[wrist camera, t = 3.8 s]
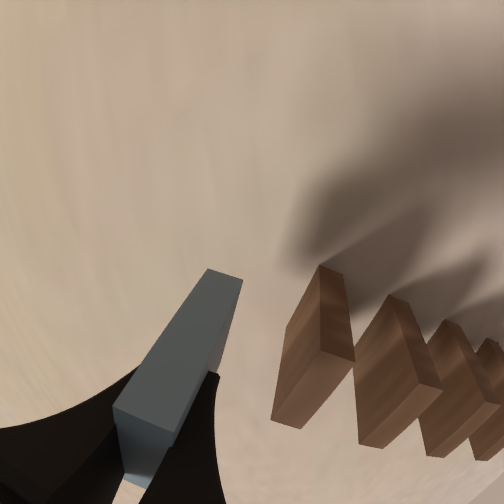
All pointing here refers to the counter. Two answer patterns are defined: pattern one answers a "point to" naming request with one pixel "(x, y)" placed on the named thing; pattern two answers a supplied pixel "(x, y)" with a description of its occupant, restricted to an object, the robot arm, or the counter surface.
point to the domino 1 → (173, 375)
